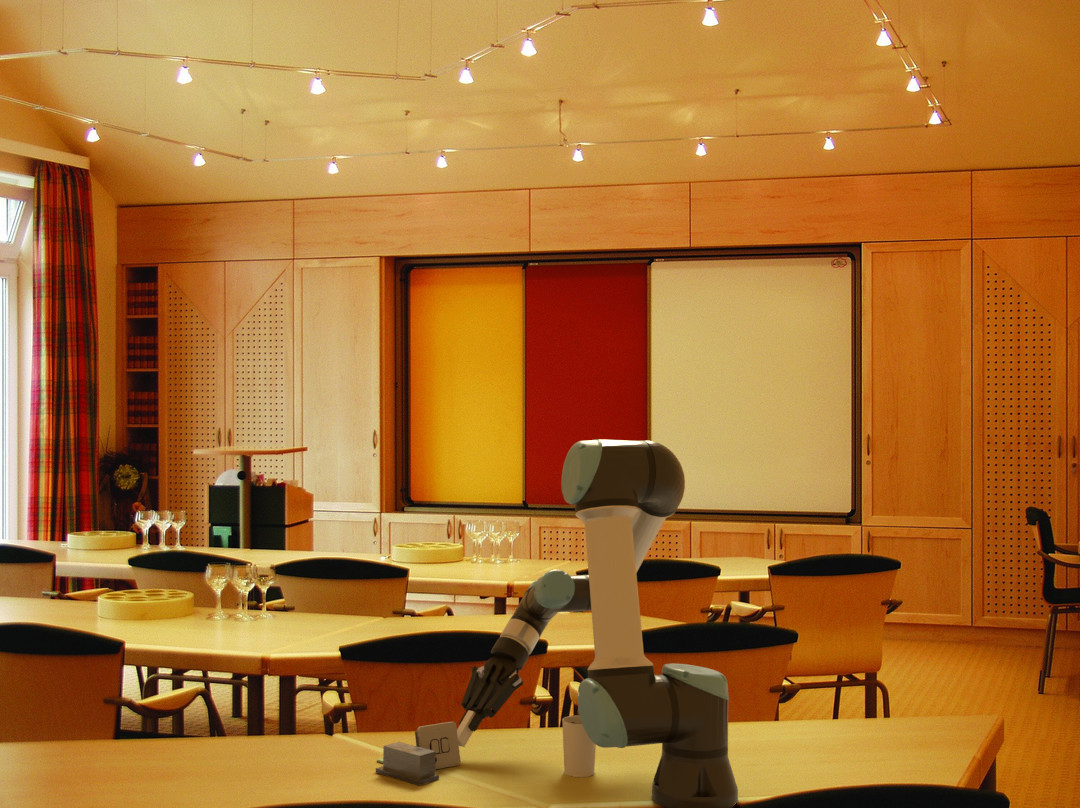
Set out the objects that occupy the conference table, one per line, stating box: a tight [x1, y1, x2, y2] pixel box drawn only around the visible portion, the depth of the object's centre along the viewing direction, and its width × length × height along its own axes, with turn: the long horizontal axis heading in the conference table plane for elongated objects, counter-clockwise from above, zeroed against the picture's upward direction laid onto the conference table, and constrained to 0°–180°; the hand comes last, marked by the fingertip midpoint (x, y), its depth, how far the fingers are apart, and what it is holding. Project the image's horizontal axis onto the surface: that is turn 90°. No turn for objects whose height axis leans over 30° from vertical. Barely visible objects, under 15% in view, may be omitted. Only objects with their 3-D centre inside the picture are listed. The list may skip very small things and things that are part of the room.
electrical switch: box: [414, 721, 462, 770], centre depth 211 cm, size 8×5×8 cm, turn 124°
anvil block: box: [375, 741, 440, 786], centre depth 204 cm, size 12×5×5 cm, turn 50°
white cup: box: [561, 715, 597, 778], centre depth 207 cm, size 7×7×10 cm
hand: (458, 742), depth 214 cm, fingers closed
